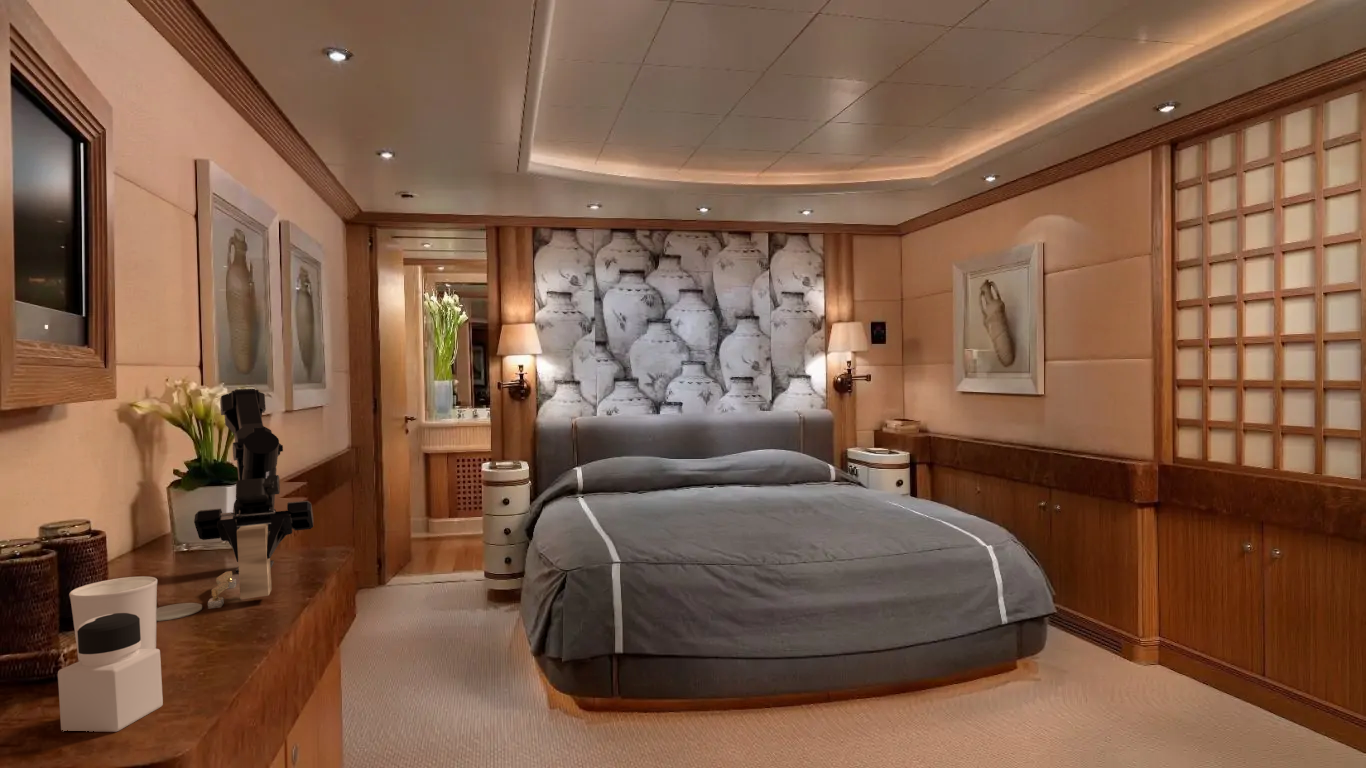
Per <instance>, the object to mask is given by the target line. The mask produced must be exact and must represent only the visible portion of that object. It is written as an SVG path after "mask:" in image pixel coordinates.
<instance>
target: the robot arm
mask: <svg viewBox="0 0 1366 768" xmlns="http://www.w3.org/2000/svg"><path fill="white" fill-rule="evenodd" d="M265 397H266V395H265V393H263V392H260V391H259V389H256V388H238V389H237V388H236V389H234V390H231V392H229V393H226V394H223V395H221V396H220V399H219V403H220V408H219V409H220V415H221V416H224V422H225V423H224V424H225V427H226V428H228V429H229V430H230V431H231V432H232V434H234V442H232V456H233V457H232V458H233V461H236V465H237V467H236V469H237V477H238V480H236V482H235V501H234V502H233V506H232V507H233V509H232V512H223V510H222V508H210V509H200V510H198V511H197V512H196V513H195V514H194V518H193V519H194V520H193V522H194V526H195V529H196V532H197V535H198V538H199V539H200V540H203V541H205V540H217V539H221V542H228V544H229V546H230V548H232V550H233V554H234V557H235V559H236V562H237V563H238V547H237V530H238V529H239V528H240V527H241V526H251V525H261V524H268V531H269V540H268V545H267V559H270V569H271V568H272V567H273V564H274V563H275V562H274V560H271V557H272V555H273V554H274V552H275V551H276V549H277V547H278V546H279V545H280V543H281V542H282V541H283V540H284V538H286V536H288V535H291V534H293V531H304V530H311V529H312V528H313V527H314V513H313V512H314V511H313V507H312V502H311V501H309V500H299V501H289V502H287V507H286V509H287V510H278V511H276V508H275V503H276V502H275V500H276V495H280V493H281V487H280V484H281V483H280V475H279V474H277V465H278V459H279V456H280V455H281V452H284V446H283V444H281V443H280V440H279V438H278V436H276V434H275V433H273V431H272V429H270V428H268V427H266V426H264V423H263V418H262V416H263V414H264V413H265V411H266V409H267V408H266V398H265ZM235 573H239V566H238V565H237V567H236V569H235Z"/></svg>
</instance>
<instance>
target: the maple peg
mask: <svg viewBox="0 0 1366 768" xmlns="http://www.w3.org/2000/svg"><path fill="white" fill-rule="evenodd" d="M268 540H269V531H268V524H261V525H251V526H241V527H240V528H239V529H238V530H237V547H238V562H237V567H238V566H239V572H238V579H239V580H238V581H239V599H240V600H245V599H251V598H261V597H269V596H270V594H271V592H272V572H271V568H270V561H271V558H270V559H267V545H268Z"/></svg>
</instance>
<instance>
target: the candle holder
mask: <svg viewBox="0 0 1366 768" xmlns="http://www.w3.org/2000/svg"><path fill="white" fill-rule="evenodd" d="M157 590H158V579H157V578H156V577H154V576H129V577H128V576H127V577H120V578H112V579H107V580H102V581H101V580H100V581H95V582H91V583H88V584H85V585H82V586H79V587H76V588H74V589H73V590H71V591H70V592H69V594H68V596H69V600H70V604H71V605H70V606H71V613H72V621H73V622H72V623H73V628H74V636H75V644H76V646H77V634H76V629H77V628H78V627H79V625H81V624H82V623H84V622H86V621H88V620H90V619H92V618H95V617H99V616H103V615H108V614H115V613H129V614H134V615H136V616H138V617H139V618H140V636H141V647H140V648H138V649H157V621H156V616H157V608H158V607H157V603H158V600H157V599H158V598H157V597H158V596H157V595H158V594H157V593H158V591H157ZM76 652H77V651H76ZM77 654H78V652H77ZM77 659H78V658H77ZM79 661H81V660H79V659H78V662H79Z"/></svg>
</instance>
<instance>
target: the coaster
mask: <svg viewBox="0 0 1366 768" xmlns="http://www.w3.org/2000/svg"><path fill="white" fill-rule="evenodd" d="M202 609H203V604H201V603H197V602H182V603H176V604H168V605H164V606H160V607H157V616H156V622H162V621H163V622H164V621H169V620H176V619H180V618H184V617H188V616H191V615H193V614H194V615H195V614H196V613H198V612H200V611H201V610H202Z"/></svg>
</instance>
